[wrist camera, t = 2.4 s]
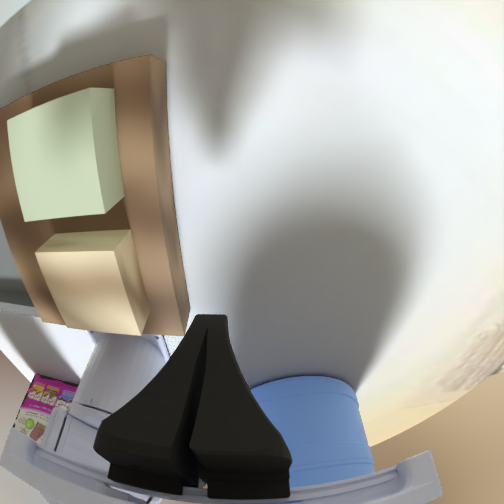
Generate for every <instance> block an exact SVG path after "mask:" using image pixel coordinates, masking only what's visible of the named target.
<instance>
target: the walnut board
mask: <svg viewBox="0 0 504 504" xmlns="http://www.w3.org/2000/svg"><path fill="white" fill-rule="evenodd" d="M87 88H112V89H114V96H115V115H116V129H117V140H118V150H119V159H120V167H121V174H122V181H123V188H124V195H125V197H123V198H122V199H121V200H120V201H119V202H118V203H116V204H115V205H114V206H113V207H112V208H111V209H110V210H109V211H107V212H106V213H105V214H94V215H83V216H73V217H63V218H53V219H45V220H36V221H28V222H25V221H24V217H23V213H22V210H21V206H20V202H19V197H18V193H17V188H16V184H15V179H14V173H13V167H12V161H11V155H10V147H9V138H8V127H7V120H9V119H11V118H13V117H15V116H17V115H19V114H21V113H24V112H26V111H28V110H30V109H33V108H35V107H37V106H40V105H42V104H44V103H47V102H49V101H52V100H55V99H57V98H60V97H63V96H66V95H68V94H71V93H74V92H77V91H81V90H84V89H87ZM0 219H1V223H2V226H3V229H4V233H5V236H6V239H7V242H8V245H9V248H10V250H11V253H12V256H13V258H14V261H15V264H16V266H17V269H18V271H19V274H20V276H21V278H22V281H23V283H24V285H25V287H26V290H27V292H28V294H29V296H30V298H31V300H32V302H33V304H34V306H35V308H36V310H37V312H38V314H39V316H40V318H41V320H42V321H43V322H48V323H54V324H60V325H66V324H65V322H64V320H63V318H62V316H61V314H60V312H59V310H58V308H57V306H56V304H55V301H54V299H53V297H52V295H51V293H50V290H49V288H48V286H47V283H46V281H45V279H44V276H43V274H42V271H41V268H40V266H39V263H38V261H37V258H36V255H35V252H36V251H37V250H38V249H39V248H40V247H41V246H42V245H43V244H44V243H45V242H46V241H48V240H49V239H50V238H51V237H52V236H53V235H54V234H58V233H73V232H89V231H107V230H127V229H131V233H132V237H133V242H134V247H135V251H136V256H137V260H138V264H139V268H140V272H141V276H142V280H143V284H144V287H145V291H146V295H147V298H148V302H149V305H150V309H151V310H150V313H149V316H148V318H147V321H146V324H145V326H144V329H143V332H142V334H154V335H173V336H185V331H186V326H187V322H188V317H189V313H190V304H189V299H188V293H187V288H186V282H185V276H184V270H183V263H182V257H181V250H180V243H179V236H178V228H177V221H176V213H175V204H174V195H173V185H172V175H171V164H170V151H169V137H168V120H167V96H166V62H164V61H162V60H160V59H158V58H156V57H154V56H152V55H145V56H140V57H135V58H131V59H127V60H123V61H119V62H115V63H111V64H107V65H104V66H101V67H97V68H94V69H91V70H88V71H85V72H82V73H79V74H76V75H73V76H70V77H68V78H65V79H63V80H60V81H57V82H55V83H53V84H50V85H48V86H46V87H43V88H41V89H39V90H37V91H34V92H32V93H30V94H28V95H26V96H24V97H22V98H20V99H18V100H16V101H14V102H12V103H11V104H9V105H7V106H5V107H3V108H2V109H0Z"/></svg>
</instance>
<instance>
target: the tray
mask: <svg viewBox="0 0 504 504" xmlns="http://www.w3.org/2000/svg"><path fill="white" fill-rule="evenodd" d="M0 310H4V311H9V312H14V313H19V314H24V315H30V316H35V317H40V316H39V314H38V312H37V310H36V308H35V306H34V304H33V302H32V300H31V298H30V296H29V294H28V292H27V290H26V287H25V285H24V283H23V281H22V278H21V276H20V274H19V271H18V269H17V266H16V264H15V261H14V258H13V256H12V253H11V250H10V248H9V245H8V242H7V239H6V236H5V233H4V229H3V226H2V223H1V219H0Z"/></svg>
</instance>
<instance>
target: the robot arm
mask: <svg viewBox="0 0 504 504" xmlns="http://www.w3.org/2000/svg"><path fill="white" fill-rule="evenodd" d="M87 331H88V333H89V335H90V336H91V338H92V340H93V342H94V344H95V346H96V347H95V349H94V351H93V353H92V356H91V358H90V360H89V362H88V364H87V367H86V369H85V371H84V374H83V376H82V378H81V381H80V383H79V386H78V388H77V391H76V393H75V396H74V398H73V401H72V403H71V405H70V406H69V408H68V410H67V408H66V407H64V406H62V405H60V406H59V407H55V408H53V410H52V412H51V415H50V418H49V420H48V423H47V426H46V428H45V431H44V434H43V437H42V440H41V443H40V444H38V443H36V441H34V440H33V439H32V438H30V437H29V436H27V435H26V434H24V433H22V432H20V431H18V430H17V429H15V428H13V427H12V428H11V430H10V433H9V435H8V438H7V441H6V444H5V447H4V450H3V453H2V456H1V459H0V465H1V466H3V467H4V468H5V469H7V470H8V471H10V472H11V473H13V474H14V475H16V476H17V477H19V478H20V479H22V480H23V481H25V482H26V483H28V484H29V485H31V486H33V487H34V488H36V489H37V490H39V491H40V493H41V494H42V495H43V496H44V498H45V499H46V500H47V501H48V502H49V503H50V504H159V503H160V501H161V500H162V498H164V499H170V500H176V501H184V502H192V503H202V504H287V503H297V502H300V503H299V504H426V503H428V502H430V501H432V500H434V499H436V498H438V497H440V496H442V494H443V492H442V488H441V484H440V481H439V477H438V474H437V471H436V467H435V464H434V461H433V458H432V454H431V452H430V451H429V450H428V451H426V452H423V453H420V454H418V455H416V456H413V457H410V458H408V459H405V460H403V461H401V462H400V463H399V464H398V465H397V466H394V467H391V468H387V469H384V470H381V471H377V472H374V473H370V474H366V475H362V476H358V477H354V478H350V479H345V480H340V481H335V482H330V483H324V484H318V485H311V486H303V487H294V488H290V485H289V479H290V474H289V468H290V466H291V465H292V457H291V453H290V451H289V449H288V447H287V445H286V443H285V441H284V439H283V437H282V435H281V433H280V432H279V431H278V430H277V429H276V427H275V426H274V425H273V424H272V422H271V421H270V420H269V419H268V417H267V416H266V414H265V413H264V412H263V410H262V409H261V407H260V406H259V404H258V402H257V401H256V399H255V398H254V396H253V394H252V393H251V391H250V389H249V387H248V385H247V383H246V381H245V379H244V377H243V375H242V373H241V371H240V369H239V366H238V364H237V361H236V359H235V356H234V353H233V350H232V346H231V343H230V339H229V332H228V321H227V316H226V315H210V314H197V315H196V316H195V318H194V320H193V322H192V324H191V325H190V327H189V329H188V331H187V332H186V334H185V336H184V338H183V339H182V341H181V342H180V344H179V345H178V347H177V348H176V350H175V351H174V353H173V354H172V355H171V357H169V354H168V351H167V348H166V345H165V342H164V339H163V336H162V335H154V334H142V335H141V336H138V335H126V334H116V333H106V332H97V331H89V330H87ZM66 411H67V412H66ZM206 483H207V484H208V488H207V489H204V488H203V487H204V486H205V485H206Z"/></svg>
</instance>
